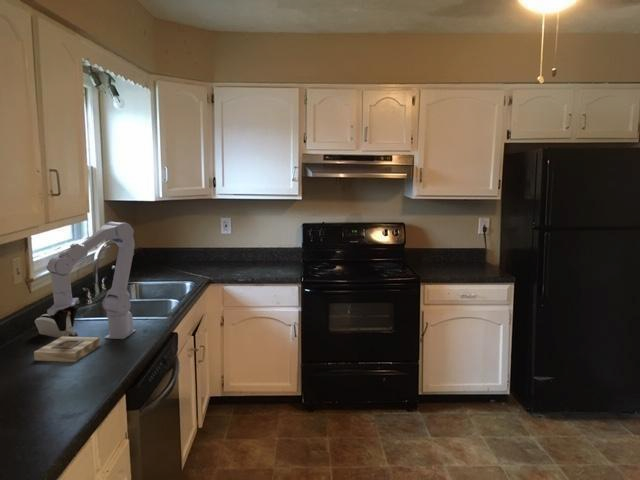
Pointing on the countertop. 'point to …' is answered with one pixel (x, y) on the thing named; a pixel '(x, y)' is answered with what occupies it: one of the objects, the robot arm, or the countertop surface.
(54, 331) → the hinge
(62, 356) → the block
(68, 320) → the pin
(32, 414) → the countertop surface
